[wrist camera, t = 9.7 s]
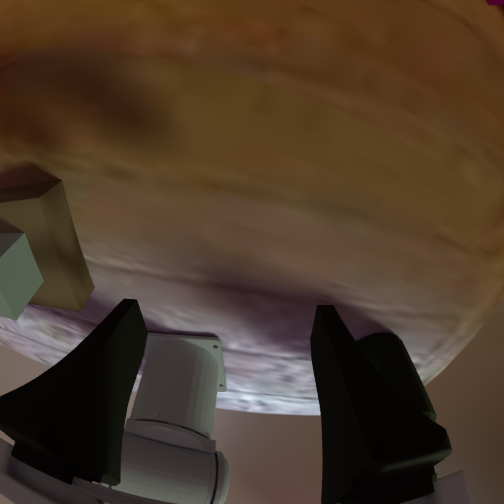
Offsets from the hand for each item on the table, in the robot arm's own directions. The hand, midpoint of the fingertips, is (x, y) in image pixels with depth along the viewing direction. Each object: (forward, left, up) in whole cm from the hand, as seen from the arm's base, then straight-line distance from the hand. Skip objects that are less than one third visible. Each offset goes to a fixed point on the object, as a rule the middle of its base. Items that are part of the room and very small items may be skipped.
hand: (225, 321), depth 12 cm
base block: (-2, +18, -9) cm, 20 cm away
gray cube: (-2, +18, -6) cm, 19 cm away
